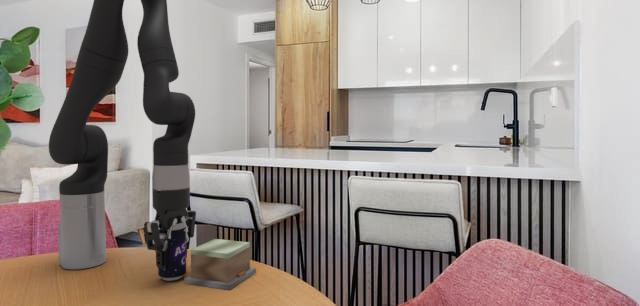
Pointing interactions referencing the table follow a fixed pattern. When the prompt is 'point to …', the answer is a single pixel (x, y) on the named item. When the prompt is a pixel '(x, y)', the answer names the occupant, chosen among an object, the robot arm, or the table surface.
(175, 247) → the beverage can
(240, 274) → the block
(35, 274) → the table surface
